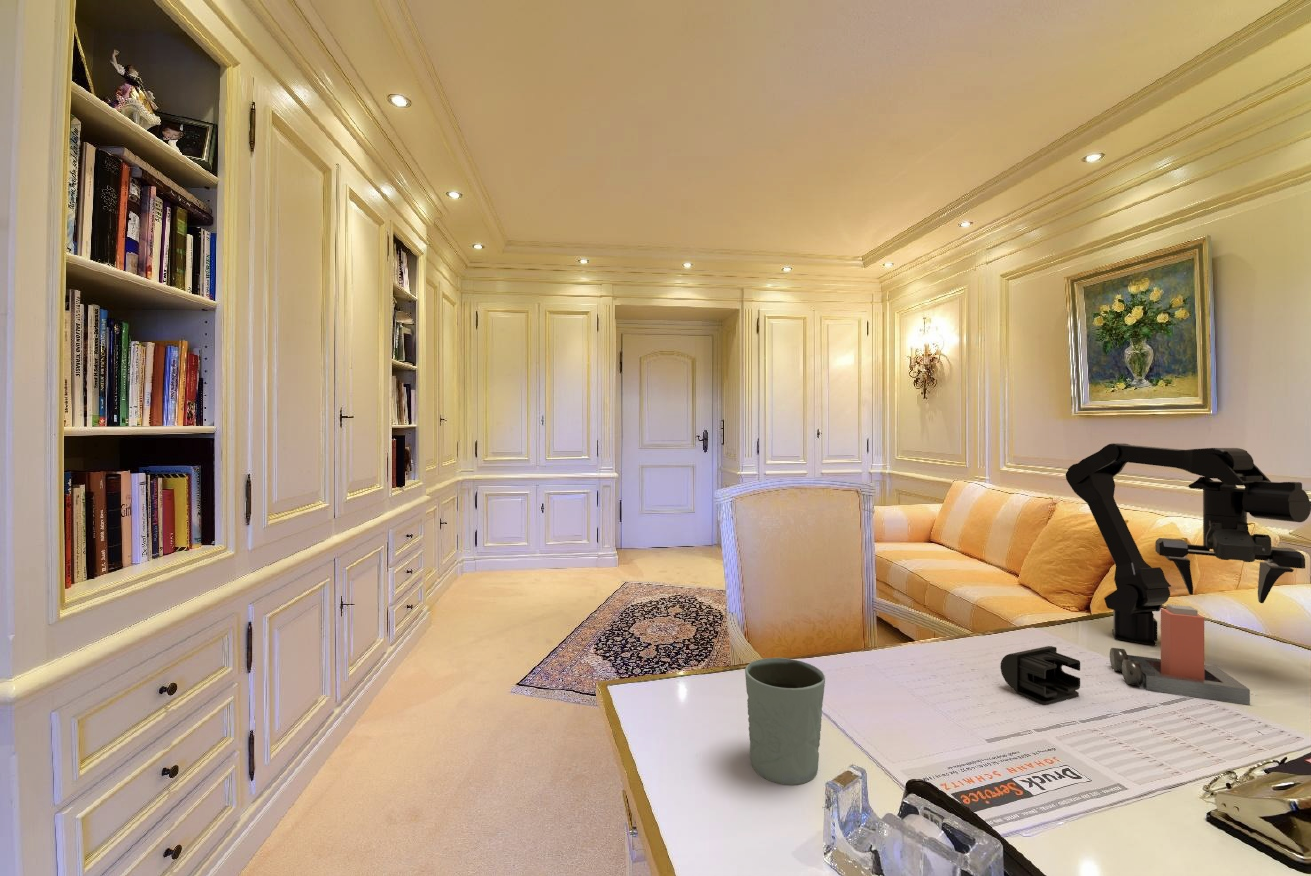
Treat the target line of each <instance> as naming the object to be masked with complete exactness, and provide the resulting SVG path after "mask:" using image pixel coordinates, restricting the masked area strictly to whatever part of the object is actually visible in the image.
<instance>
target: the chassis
mask: <svg viewBox="0 0 1311 876" xmlns="http://www.w3.org/2000/svg"><path fill="white" fill-rule="evenodd" d="M1109 663H1110V666H1111V668H1112V670H1113V669H1114V670H1115V672H1122V677H1123V678H1122V679H1123V680H1124V683H1126V685H1133V686H1141V687H1142V688H1143V689H1145V690H1146V691H1150V692H1156V691H1158V693H1163V692H1164V694H1170V693H1171V694H1172V695H1179V696H1184V697H1185V696H1186V697H1190V698H1192V697H1193V698H1199V699H1207V700H1213V701H1218V702H1226V703H1232V704H1241V705H1246V706H1250V705H1251V689H1250V688H1248V687H1247V686H1245V685H1244V684H1243V683H1241V682H1240V681H1238V680H1237V679H1235V678H1234V677H1232V676H1231V675H1230V674H1228V673H1226V671H1224V670H1222V669H1221V668H1220V667H1218V666H1216V665H1211V664H1210V665H1209V664H1204V672H1205V680H1199V679H1191V678H1184V677H1177V676H1169V675H1162V674H1161V658H1157V657H1156V658H1155V657H1147V656H1138V655H1131V654H1128V653H1127V651H1126V650H1125V649H1124V648H1118V647H1111V648H1110V650H1109ZM1114 670H1113V671H1114Z"/></svg>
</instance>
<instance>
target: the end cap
mask: <svg viewBox="0 0 1311 876" xmlns="http://www.w3.org/2000/svg"><path fill="white" fill-rule="evenodd" d="M999 666H1000V672H1001V676H1002V678H1003V679H1004V681H1005V683H1006V684H1007V686H1009V687H1010V688H1011V689H1012V690H1013V691H1014V692H1015V693H1016V694H1017V695H1019V696H1021V697H1023V698H1025V699H1028V700H1030V701H1032V702H1034V703H1037V704H1039V705H1042V706H1048V705H1052V704H1056V703H1059V702H1063V701H1067V700H1066V699H1068V700H1070V699H1074V698H1078V697H1080V695H1079V691H1078V690H1079V689H1080V687H1081V677H1079V676H1075V675H1072V674H1070V673H1067V672H1065V671H1064V670H1063V668H1062V667H1063V666H1065V667H1067V668H1070V669H1073V670H1075V671H1078V672H1079V671H1081V661H1080V660H1079V659H1076V658H1073V657H1071V656H1067V655H1064V654H1062V653H1058V652H1057V647H1056V646H1053V645H1051V646H1050V645H1046V646H1043V647H1037V648H1033V649H1032V648H1031V649H1026V650H1022V651H1017V652H1013V653H1009V654H1006V655H1004V657H1002V659H1001V662H1000V665H999Z"/></svg>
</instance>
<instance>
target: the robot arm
mask: <svg viewBox="0 0 1311 876" xmlns="http://www.w3.org/2000/svg"><path fill="white" fill-rule="evenodd" d="M1127 463H1129V464H1130V463H1131V464H1141V465H1147V466H1157V467H1166V468H1176V469H1180V470H1182V471H1186V472H1188V473H1190V474H1194V475H1196V476H1199V477H1198V479H1196V481H1193V482H1192V483H1191V484H1188V489H1193V490H1202V540H1203V541H1202V544H1191V543H1188V542H1187V541H1186V540H1183V539H1180V538H1165V537H1158V538H1157V539H1156V540H1155V547H1154V548H1155V549H1154V550H1155V552H1156V553H1157V554H1158V555H1159V556H1162V557H1164V558H1166V559H1167V560H1168V561H1170V562H1173V563H1174V566H1175V567H1176V568H1177V569H1178V572H1179V574H1180V576H1181V578H1182V580H1183V583H1184V586H1185V587H1186V589H1187V590H1186V591H1187V592H1188V593H1189V595H1190V596H1193V595H1194V585H1193V577H1192V571H1191V560H1190V559H1189V558H1188V557H1187V556H1188V555H1197V556H1211V557H1215V558H1217V559H1219V560H1222V561H1230V560H1232V561H1240V562H1241V561H1242V562H1245V563H1253V562H1255V561H1260V562H1259V570H1258V571H1259V573H1258V581H1257V582H1258V584H1257V600H1258V603H1260V604H1264V602H1265V601H1266V599H1267V597H1268V595H1269V594H1270V592H1271V591H1272V588H1273V586H1274V585H1275V583H1276V582H1277V580H1279V578H1280V577H1281V576H1283V575H1284V574H1286V573H1294V571H1295V569H1302V570H1303V569H1306V557H1305V555H1304V554H1303V553H1302V552H1300V551H1298V550H1296V549H1294V548H1291V547H1282V546H1272V538H1271V536H1270V535H1269V534H1261V533H1253V534H1251V533H1250V531H1249V524H1248V514H1249V515H1250V516H1251V517H1253V518H1255V519H1260V520H1261V519H1265V520H1274V521H1283V522H1293V523H1304V522H1305V521H1307V519H1308V518H1309V517H1310V514H1311V500H1310V497H1309V496H1308V494H1307V492H1306V491H1305V490H1304V489H1303V483H1302V482H1301V481H1283V482H1278V481H1271V480H1270V479H1269V478H1268V477H1267V476H1266V474H1265V473H1264V472H1262V471H1261V469H1260V468H1259V467H1258V466H1257V465H1256V464H1255V463H1254V459H1253V457H1252V455H1251V454H1250V453H1249V452H1248V451H1247V450H1245V449H1244V448H1243V449H1242V448H1239V447H1204V448H1189V449H1179V448H1169V447H1157V446H1144V445H1134V444H1133V445H1132V444H1129V443H1118V442H1117V443H1115V442H1113V443H1109V444H1107V445H1105V446H1103V447H1102V448H1101V449H1100V450H1098V451H1097V452H1095V453H1092V454H1091V455H1089V456H1087V457H1085V458H1082V459H1081V460H1080V461H1079V462H1077V463H1073V464H1072V465H1070V466H1069V467H1068V469H1067V471H1066V473H1065V479H1066V482H1067V483H1068V485H1069V486H1070V488H1071V489H1072V491H1073V492H1074V493H1075V494H1076V495H1077V496H1078V497H1079V498H1080V499H1081V500H1083V501H1084V503H1086V504H1087V505H1088V509H1089V510H1090V512H1091V514H1092V516H1093V519H1094V521H1095V523H1096V525H1097V528H1098V529H1099V532H1100V534H1101V537H1102V538H1103V540H1104V543H1105V544H1106V547H1107V549H1108V551H1109V554H1110V556H1111V558H1112V561H1113V562H1114V565H1115V570H1114V584H1115V588H1116V589H1115V590H1114V591H1113V592H1111V593H1110V594H1107V596H1105V597H1104V599H1103V600H1104V602H1105V605H1106V609H1110V610H1113V611H1112V612H1113V615H1112V616H1113V617H1112V618H1113V620H1112V621H1113V622H1112V623H1113V625H1112V627H1113V628H1112V629H1111V632H1112V635H1113V637H1114V639H1115V640H1117V641H1126V642H1131V643H1135V644H1137V643H1138V644H1142V645H1143V644H1144V645H1148V646H1149V645H1150V646H1156V642H1157V641H1158V621H1157V619H1156V618H1155V617H1154V615H1155V614H1154V613H1153V612H1161V609H1162V607H1163V605H1164V604H1166V603H1167V602H1168V600H1169V599H1170V597H1171V591H1170V588H1171V587H1172V585H1171V584H1170V583H1169V582H1168V580H1167V579H1166V577H1165V573H1164V570H1163V569H1162V568H1161V567H1159V566H1158V567H1157V566H1156V567H1152V566H1151V565H1150V564H1149V563H1147V562H1146V561H1145V559H1144V558H1143V556H1142V554H1141V552H1140V549H1139V548H1138V546H1137V544H1136V541H1135V539H1134V537H1133V535H1132V533H1131V531H1130V529H1129V527H1128V525H1127V523H1126V520H1125V519H1124V516H1123V514H1122V512H1121V510H1120V508H1119V506H1118V505H1117V502H1116V500H1115V497H1114V495H1115V491H1116V490H1115V489H1116V482H1115V480H1114V478H1115V477H1116V476H1117V475H1119V473H1121V472H1122V471H1123V469H1124V468H1125V466H1126V465H1127ZM1214 479H1217V480H1218V481H1217V480H1216V481H1215V480H1214ZM1238 486H1242V487H1238ZM1243 486H1244V488H1243ZM1263 561H1264V562H1263Z"/></svg>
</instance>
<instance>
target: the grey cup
mask: <svg viewBox="0 0 1311 876" xmlns="http://www.w3.org/2000/svg"><path fill="white" fill-rule="evenodd" d="M744 672H745V673H744V675H745V676H744V677H745V688H746V694H747V715H748V719H747V720H748V725H749V726H748V732H749V733H748V734H749V735H748V736H749V755H750V756H749V757H750V758H749V759H750V763H751V766H752V768H753V770H754V771H755V773H757V774H758V776H760V777H761V778H764V779H766V780H768V781H770V782H773V783H775V784H780V785H788V786H795V785H802V784H803V785H804V784H806V783H808V782H810V781H812V780H813V779H814V778H815V777H816V776H817V774H818V771H819V762H820V761H819V760H820V753H819V749H820V746H821V743H820V742H821V731H822V717H823V706H824V705H823V703H824V693H825V686H826V675H825V673H824V672H823V671H822V670H821V669H820V668H818V667H816V666H815V665H812V664H811V663H808V662H805V661H803V660H797V659H793V658H786V657H768V658H766V657H765V658H760V659H756V660H753V661H751V662H749V663H748V664H747V665H746V666H745V669H744Z"/></svg>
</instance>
